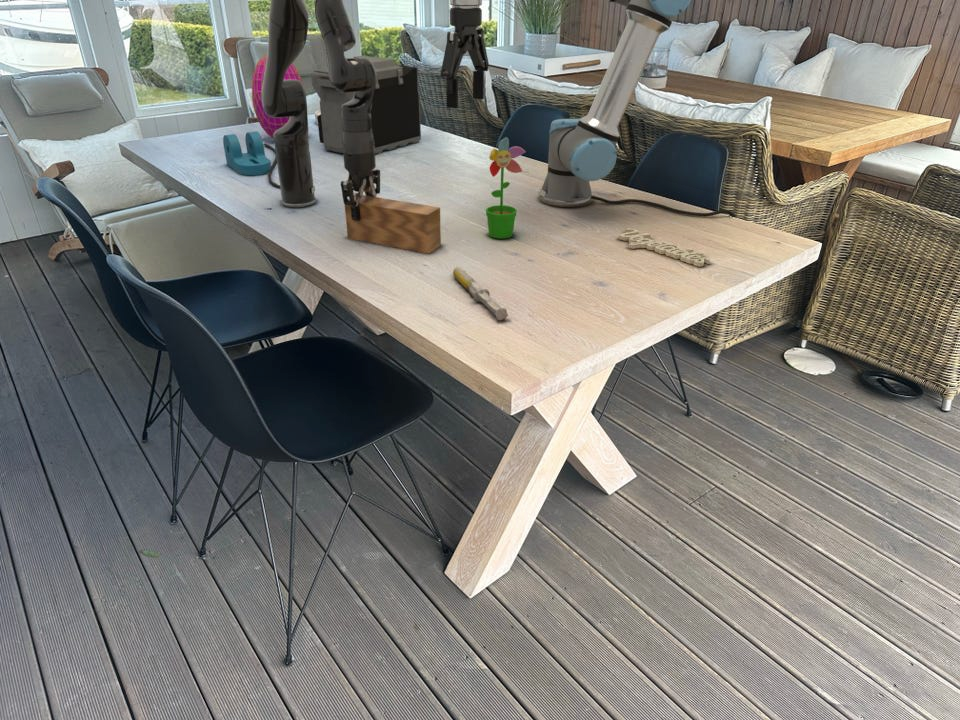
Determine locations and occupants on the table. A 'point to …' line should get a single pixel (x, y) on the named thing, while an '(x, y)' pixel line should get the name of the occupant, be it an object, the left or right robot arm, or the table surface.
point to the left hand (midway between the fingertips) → (363, 216)
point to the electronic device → (374, 107)
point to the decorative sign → (663, 247)
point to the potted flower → (500, 214)
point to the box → (396, 224)
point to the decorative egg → (257, 80)
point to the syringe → (479, 293)
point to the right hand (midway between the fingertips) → (465, 103)
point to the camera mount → (246, 154)
